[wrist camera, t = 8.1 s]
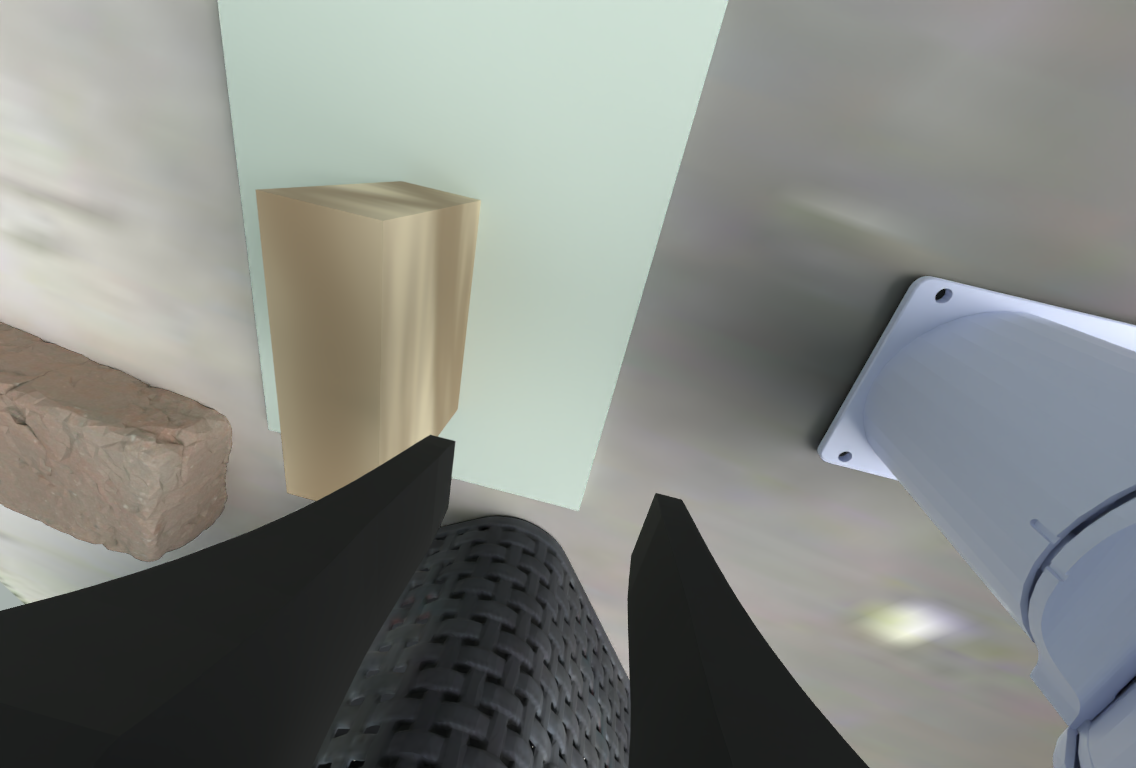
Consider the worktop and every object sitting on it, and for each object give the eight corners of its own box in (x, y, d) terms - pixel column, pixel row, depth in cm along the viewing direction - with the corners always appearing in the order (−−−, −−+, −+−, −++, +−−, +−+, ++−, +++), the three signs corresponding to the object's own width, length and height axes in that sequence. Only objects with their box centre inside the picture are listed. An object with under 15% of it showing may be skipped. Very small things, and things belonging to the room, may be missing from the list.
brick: (236, 409, 23) (147, 462, 19) (230, 518, 27) (154, 582, 23) (-75, 279, 23) (-238, 304, 18) (-36, 409, 26) (-165, 455, 22)
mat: (726, 2, 13) (729, -5, 13) (580, 502, 22) (578, 511, 22) (219, -112, 14) (202, -123, 13) (277, 423, 23) (268, 429, 22)
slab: (481, 200, 16) (383, 221, 10) (457, 409, 20) (377, 517, 14) (401, 181, 16) (255, 189, 10) (394, 393, 20) (287, 492, 14)
